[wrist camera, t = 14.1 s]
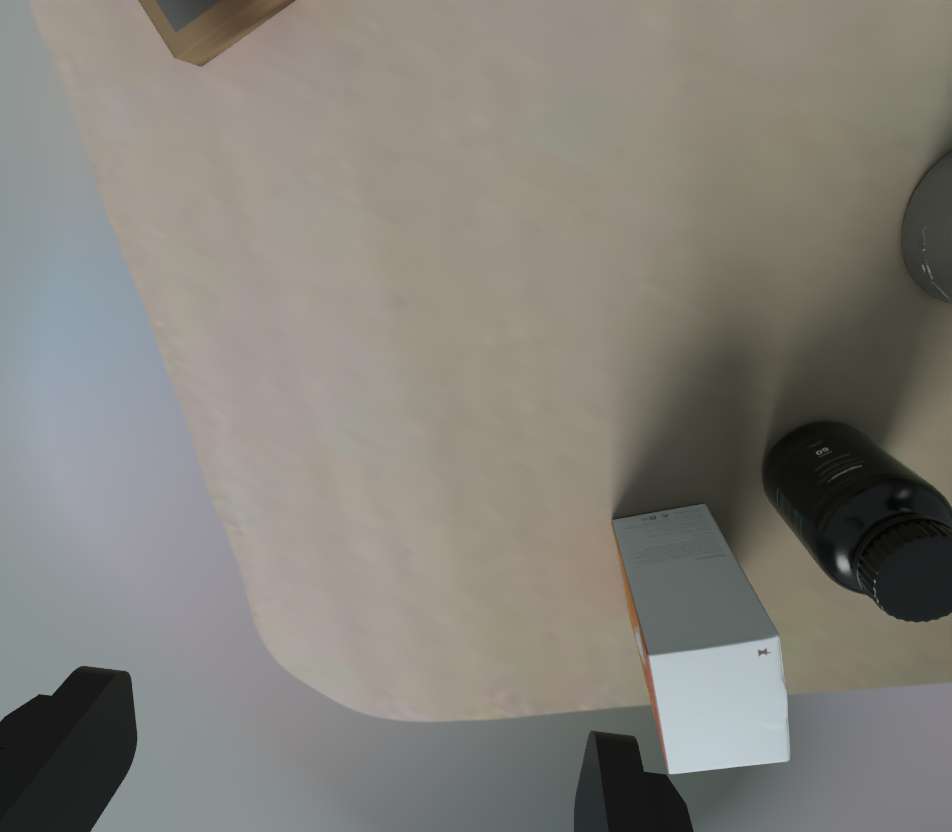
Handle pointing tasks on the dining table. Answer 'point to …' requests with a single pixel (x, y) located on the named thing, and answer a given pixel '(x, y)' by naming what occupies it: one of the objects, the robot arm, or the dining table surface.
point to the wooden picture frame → (207, 24)
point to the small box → (702, 643)
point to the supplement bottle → (865, 518)
